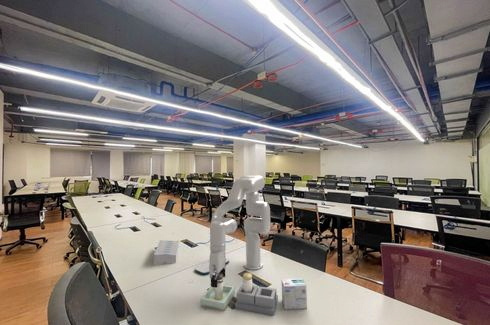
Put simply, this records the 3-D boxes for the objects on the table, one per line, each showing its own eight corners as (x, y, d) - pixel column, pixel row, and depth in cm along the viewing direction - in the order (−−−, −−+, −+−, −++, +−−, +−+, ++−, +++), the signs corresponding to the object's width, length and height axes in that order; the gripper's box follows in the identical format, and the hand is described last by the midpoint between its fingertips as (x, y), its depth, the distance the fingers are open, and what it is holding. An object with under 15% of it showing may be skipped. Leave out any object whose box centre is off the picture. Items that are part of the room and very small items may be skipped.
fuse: (244, 294, 106) (244, 272, 107) (253, 296, 105) (253, 273, 105) (242, 299, 102) (241, 276, 103) (251, 301, 101) (250, 277, 101)
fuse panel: (242, 293, 111) (242, 281, 111) (277, 299, 105) (277, 287, 106) (235, 308, 99) (234, 295, 99) (273, 315, 94) (273, 301, 94)
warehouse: (175, 263, 149) (175, 252, 149) (153, 266, 146) (153, 254, 146) (178, 247, 178) (178, 238, 178) (160, 249, 175) (160, 240, 175)
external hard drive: (204, 277, 129) (204, 273, 129) (192, 271, 136) (192, 268, 136) (230, 263, 148) (230, 260, 148) (219, 258, 155) (218, 256, 155)
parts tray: (213, 290, 115) (213, 283, 115) (235, 293, 111) (234, 286, 111) (200, 306, 101) (200, 298, 101) (224, 310, 98) (224, 303, 98)
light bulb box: (303, 299, 105) (302, 277, 105) (307, 309, 98) (307, 285, 98) (281, 300, 104) (280, 278, 105) (284, 310, 98) (283, 286, 98)
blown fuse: (216, 294, 109) (216, 272, 109) (224, 295, 108) (224, 273, 108) (212, 299, 105) (212, 276, 105) (221, 300, 103) (220, 277, 104)
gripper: (218, 240, 116) (218, 272, 116) (202, 252, 100) (203, 290, 99) (231, 241, 114) (231, 274, 113) (217, 254, 97) (218, 292, 97)
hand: (218, 281), depth 106 cm, fingers open, 9 cm apart
